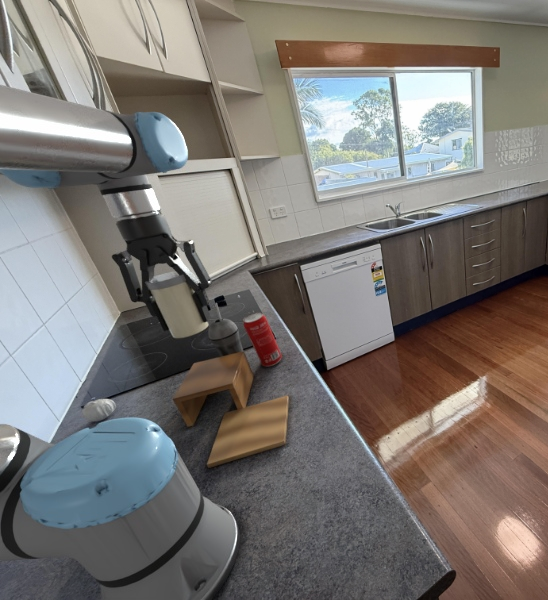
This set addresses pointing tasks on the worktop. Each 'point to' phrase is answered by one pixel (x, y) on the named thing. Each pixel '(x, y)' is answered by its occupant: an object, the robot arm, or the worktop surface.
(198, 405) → the shelf
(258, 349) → the beverage can
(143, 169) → the robot arm
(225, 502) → the worktop surface
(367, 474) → the worktop surface
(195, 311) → the jar
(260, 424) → the board
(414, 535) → the worktop surface
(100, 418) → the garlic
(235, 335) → the grey bottle
